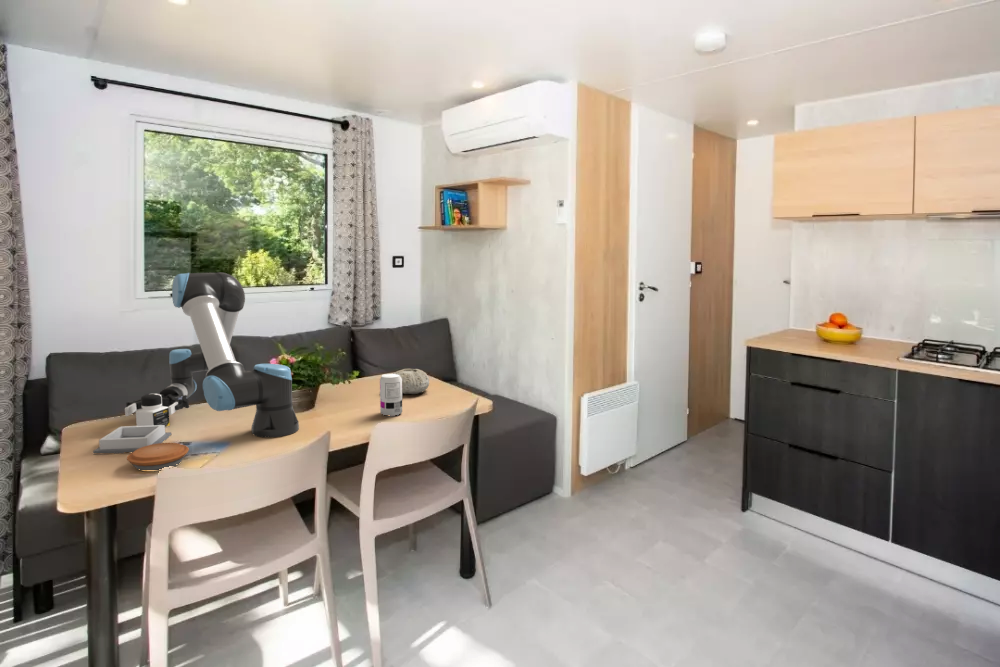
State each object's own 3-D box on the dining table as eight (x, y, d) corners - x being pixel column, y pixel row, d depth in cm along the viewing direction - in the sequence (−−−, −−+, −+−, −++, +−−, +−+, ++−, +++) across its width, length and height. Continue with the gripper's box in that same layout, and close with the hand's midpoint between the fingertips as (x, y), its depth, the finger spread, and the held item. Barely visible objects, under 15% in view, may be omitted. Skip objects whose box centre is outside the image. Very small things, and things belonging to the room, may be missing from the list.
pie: (116, 467, 164) (115, 450, 163) (171, 451, 177) (170, 436, 176) (145, 479, 156) (144, 462, 155) (200, 461, 169) (199, 445, 168)
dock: (171, 435, 192) (170, 423, 191) (150, 451, 176) (149, 439, 175) (118, 437, 189) (117, 425, 188) (93, 454, 173) (92, 441, 173)
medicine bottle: (154, 432, 194) (151, 398, 192) (136, 430, 196) (133, 396, 194) (170, 426, 201) (167, 392, 199) (153, 424, 202) (150, 391, 201)
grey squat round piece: (422, 398, 241) (422, 375, 240) (382, 396, 245) (381, 373, 243) (434, 388, 259) (434, 367, 257) (397, 386, 262) (396, 365, 260)
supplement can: (376, 415, 217) (375, 376, 215) (388, 409, 225) (387, 372, 222) (394, 417, 214) (394, 378, 212) (406, 412, 222) (405, 374, 219)
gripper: (208, 404, 218) (188, 420, 197) (137, 406, 213) (108, 423, 193) (207, 384, 216) (186, 399, 196) (135, 386, 212) (106, 401, 192)
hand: (148, 411), depth 194 cm, fingers open, 13 cm apart
